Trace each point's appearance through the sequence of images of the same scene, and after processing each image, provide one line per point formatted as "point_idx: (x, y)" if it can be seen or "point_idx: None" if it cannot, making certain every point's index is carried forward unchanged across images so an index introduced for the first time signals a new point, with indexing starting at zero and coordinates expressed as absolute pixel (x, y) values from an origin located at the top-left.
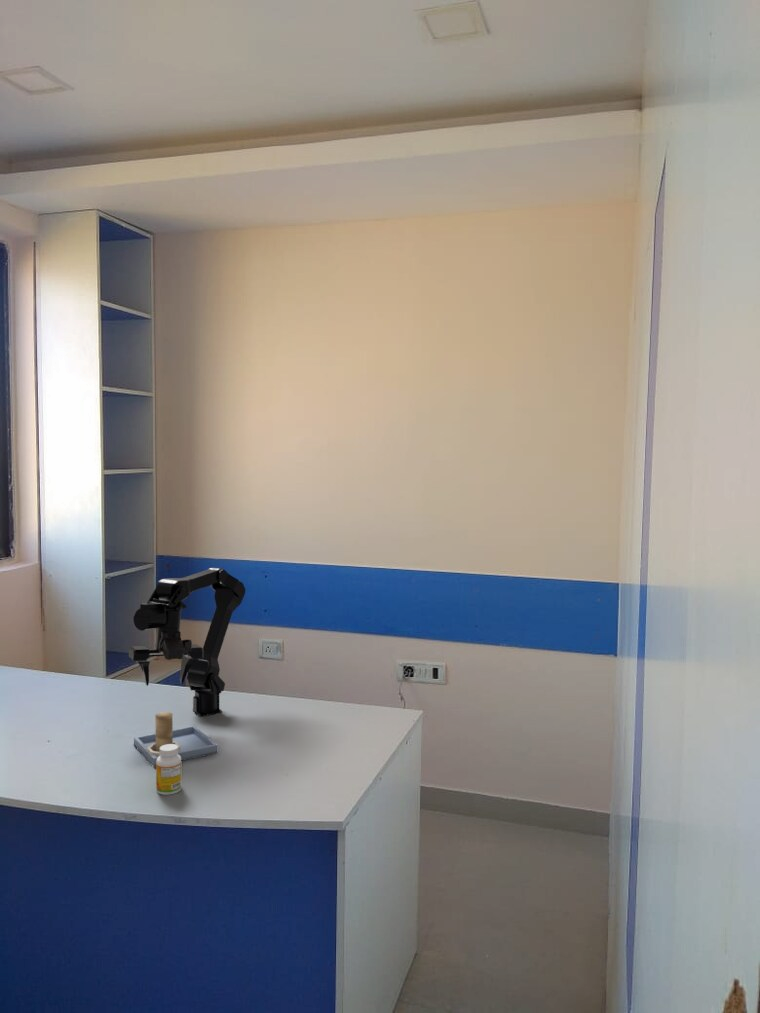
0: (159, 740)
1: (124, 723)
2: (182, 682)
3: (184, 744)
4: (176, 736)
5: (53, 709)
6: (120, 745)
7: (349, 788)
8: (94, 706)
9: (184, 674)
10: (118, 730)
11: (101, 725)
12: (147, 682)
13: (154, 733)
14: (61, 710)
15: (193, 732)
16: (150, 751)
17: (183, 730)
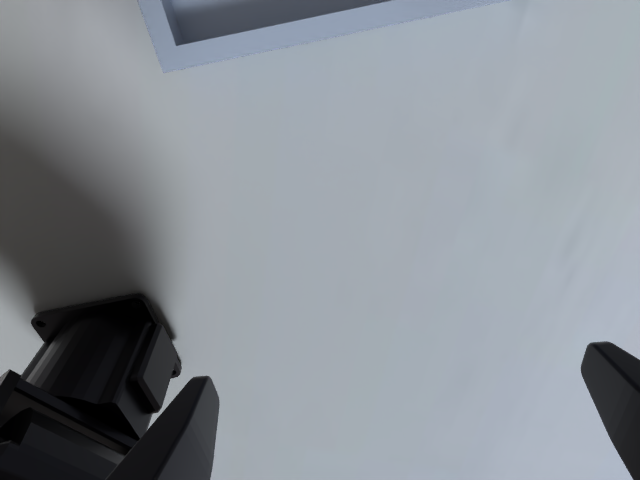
0: None
1: (482, 305)
2: (192, 383)
3: None
4: (291, 5)
5: None
6: (609, 15)
7: None
8: (516, 463)
9: (139, 474)
10: (532, 237)
11: (568, 309)
12: (634, 364)
13: (439, 9)
14: (615, 453)
15: (178, 27)
16: None
17: (242, 31)
